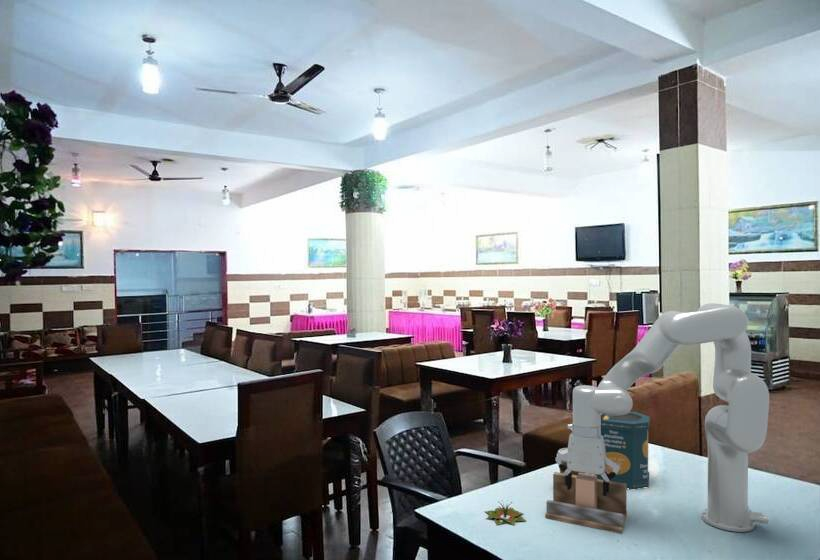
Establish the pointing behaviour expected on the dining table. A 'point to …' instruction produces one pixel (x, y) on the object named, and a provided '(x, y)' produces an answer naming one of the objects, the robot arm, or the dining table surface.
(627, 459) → the donation box
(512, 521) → the lily flower
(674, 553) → the dining table surface
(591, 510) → the cleat board
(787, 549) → the dining table surface
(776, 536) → the dining table surface
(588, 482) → the terracotta block
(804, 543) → the dining table surface
